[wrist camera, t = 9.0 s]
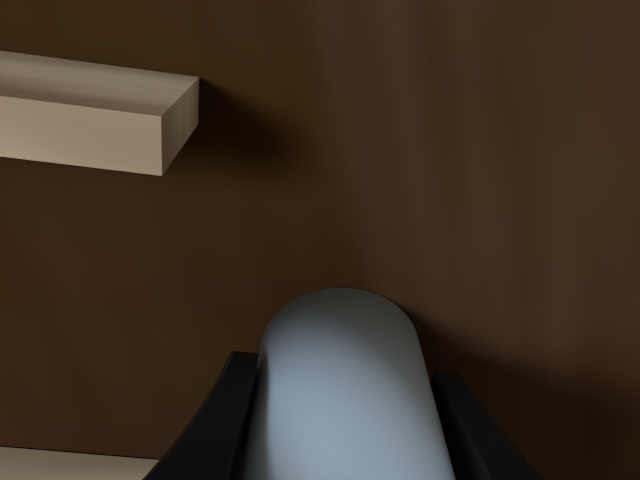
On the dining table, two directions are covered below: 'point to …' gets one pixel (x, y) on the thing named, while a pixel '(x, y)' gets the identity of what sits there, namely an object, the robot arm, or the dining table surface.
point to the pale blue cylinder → (343, 395)
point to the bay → (98, 152)
